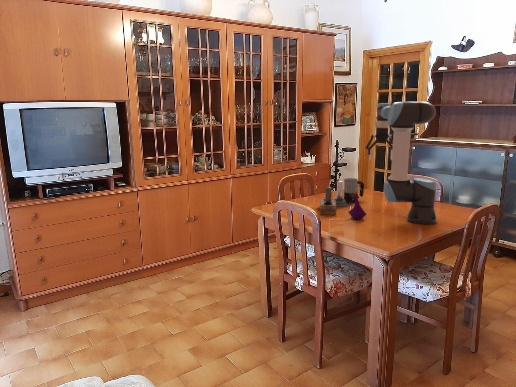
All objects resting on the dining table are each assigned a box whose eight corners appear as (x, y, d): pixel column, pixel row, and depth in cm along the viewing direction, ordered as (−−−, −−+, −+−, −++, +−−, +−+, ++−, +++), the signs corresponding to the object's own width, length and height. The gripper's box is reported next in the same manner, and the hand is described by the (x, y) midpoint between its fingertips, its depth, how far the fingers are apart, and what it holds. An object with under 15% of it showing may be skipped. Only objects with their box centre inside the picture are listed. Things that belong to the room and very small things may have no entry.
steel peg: (342, 203, 258) (343, 181, 255) (336, 203, 259) (337, 181, 255) (341, 201, 262) (342, 180, 258) (336, 201, 262) (337, 180, 259)
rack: (335, 214, 238) (336, 205, 236) (320, 214, 239) (320, 205, 238) (334, 206, 255) (334, 198, 254) (319, 206, 256) (320, 198, 255)
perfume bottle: (354, 220, 225) (355, 189, 221) (348, 217, 232) (349, 186, 228) (366, 219, 227) (367, 188, 223) (359, 216, 234) (361, 186, 230)
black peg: (331, 210, 240) (331, 188, 237) (325, 210, 241) (325, 188, 238) (330, 209, 244) (331, 186, 241) (324, 209, 244) (325, 186, 241)
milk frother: (349, 203, 264) (349, 181, 261) (334, 198, 278) (334, 177, 274) (365, 200, 270) (366, 178, 267) (350, 195, 284) (351, 175, 281)
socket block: (347, 206, 255) (348, 202, 254) (331, 206, 256) (331, 201, 256) (346, 202, 265) (346, 198, 264) (331, 202, 266) (331, 198, 265)
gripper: (401, 126, 263) (399, 159, 268) (362, 127, 267) (360, 158, 271) (403, 127, 256) (401, 160, 261) (363, 127, 259) (362, 160, 264)
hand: (380, 159), depth 266 cm, fingers open, 13 cm apart
